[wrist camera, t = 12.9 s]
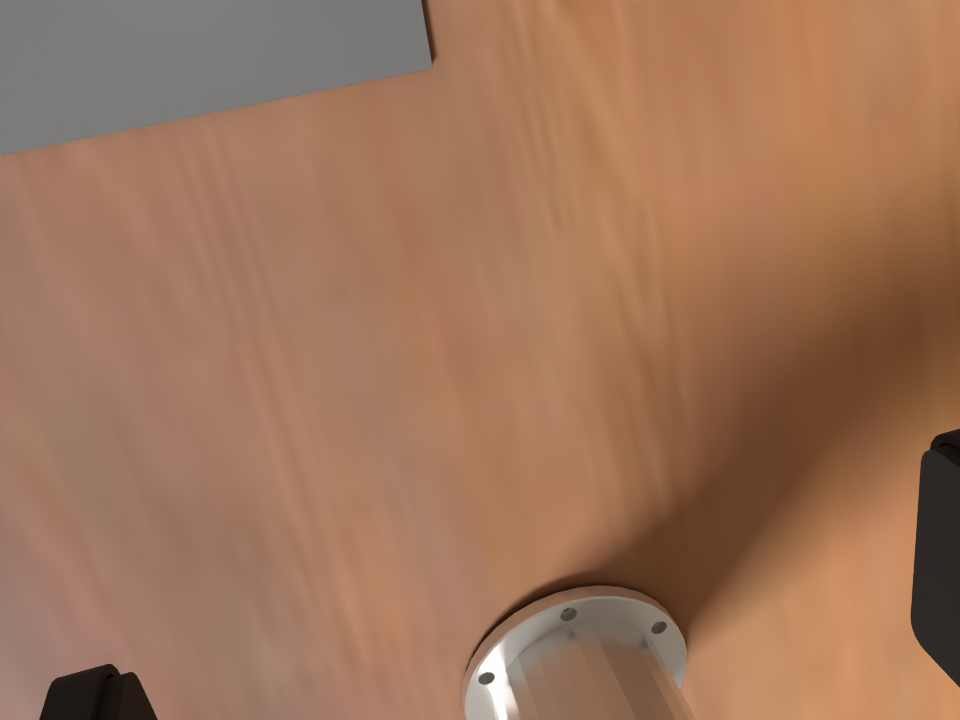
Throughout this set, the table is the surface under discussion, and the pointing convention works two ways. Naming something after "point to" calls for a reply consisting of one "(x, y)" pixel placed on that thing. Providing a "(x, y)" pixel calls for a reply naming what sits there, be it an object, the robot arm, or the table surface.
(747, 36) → the table surface
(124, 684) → the robot arm
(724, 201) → the table surface
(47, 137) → the mat
